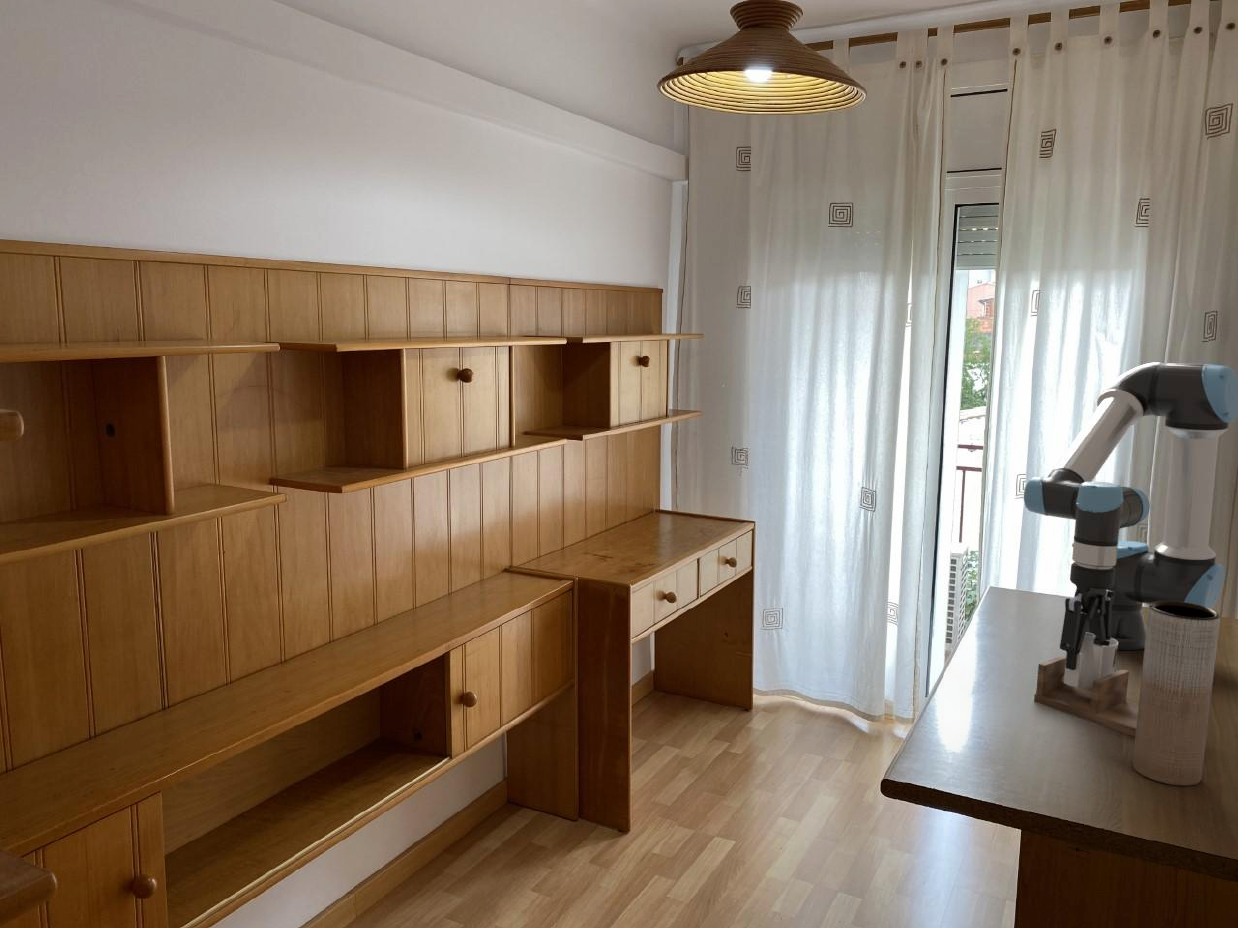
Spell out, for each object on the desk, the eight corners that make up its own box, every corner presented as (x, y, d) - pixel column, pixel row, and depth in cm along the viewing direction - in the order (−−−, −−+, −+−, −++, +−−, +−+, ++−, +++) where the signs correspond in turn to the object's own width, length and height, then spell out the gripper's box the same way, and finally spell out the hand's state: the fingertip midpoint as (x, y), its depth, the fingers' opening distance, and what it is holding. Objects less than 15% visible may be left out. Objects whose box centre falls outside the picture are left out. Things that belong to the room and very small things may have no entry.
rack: (1067, 688, 197) (1070, 652, 196) (1185, 727, 179) (1189, 688, 178) (1033, 701, 190) (1037, 664, 189) (1153, 743, 172) (1158, 702, 171)
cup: (1118, 696, 193) (1123, 647, 192) (1074, 692, 195) (1079, 644, 193) (1107, 681, 201) (1111, 634, 199) (1064, 677, 203) (1069, 631, 201)
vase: (1200, 792, 154) (1220, 622, 150) (1129, 776, 159) (1146, 611, 155) (1202, 768, 162) (1220, 607, 158) (1135, 753, 167) (1151, 596, 163)
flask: (1105, 693, 183) (1110, 642, 182) (1062, 688, 186) (1067, 637, 184) (1100, 680, 190) (1105, 631, 189) (1059, 675, 192) (1064, 626, 191)
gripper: (1100, 553, 193) (1089, 665, 197) (1045, 566, 181) (1035, 685, 185) (1139, 561, 187) (1127, 676, 191) (1085, 575, 175) (1073, 697, 179)
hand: (1082, 680), depth 188 cm, fingers closed on flask, 7 cm apart
